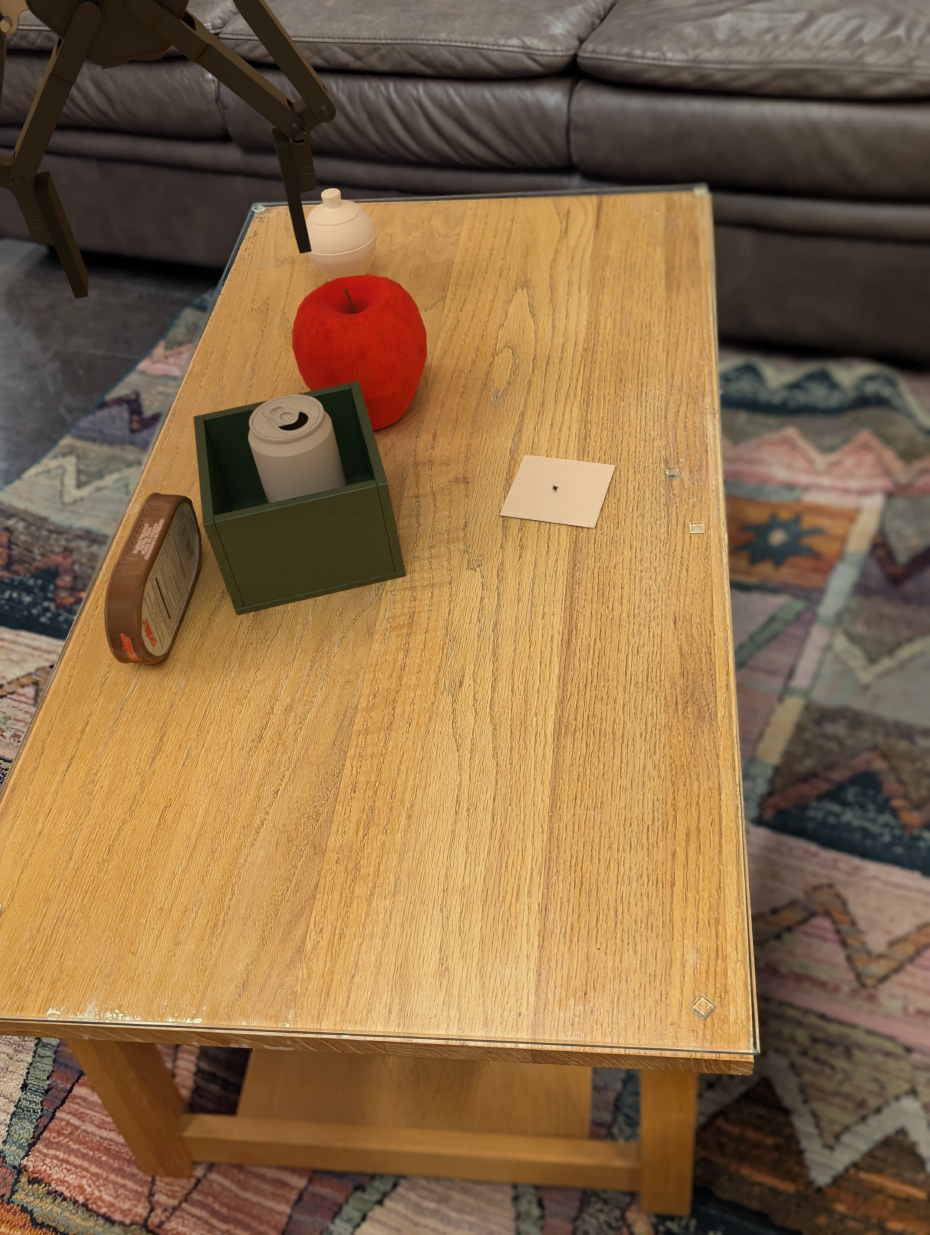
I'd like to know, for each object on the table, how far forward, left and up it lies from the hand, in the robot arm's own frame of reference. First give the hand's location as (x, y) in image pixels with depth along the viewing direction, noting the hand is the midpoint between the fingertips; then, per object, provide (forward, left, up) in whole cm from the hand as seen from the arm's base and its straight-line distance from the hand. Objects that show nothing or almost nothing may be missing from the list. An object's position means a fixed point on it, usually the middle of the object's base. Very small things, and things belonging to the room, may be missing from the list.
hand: (193, 265), depth 66 cm
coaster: (+23, +4, -28) cm, 36 cm away
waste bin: (+2, +5, -28) cm, 28 cm away
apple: (+10, +20, -28) cm, 36 cm away
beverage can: (+3, +4, -27) cm, 28 cm away
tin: (-10, 0, -28) cm, 30 cm away
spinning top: (+11, +41, -28) cm, 51 cm away
